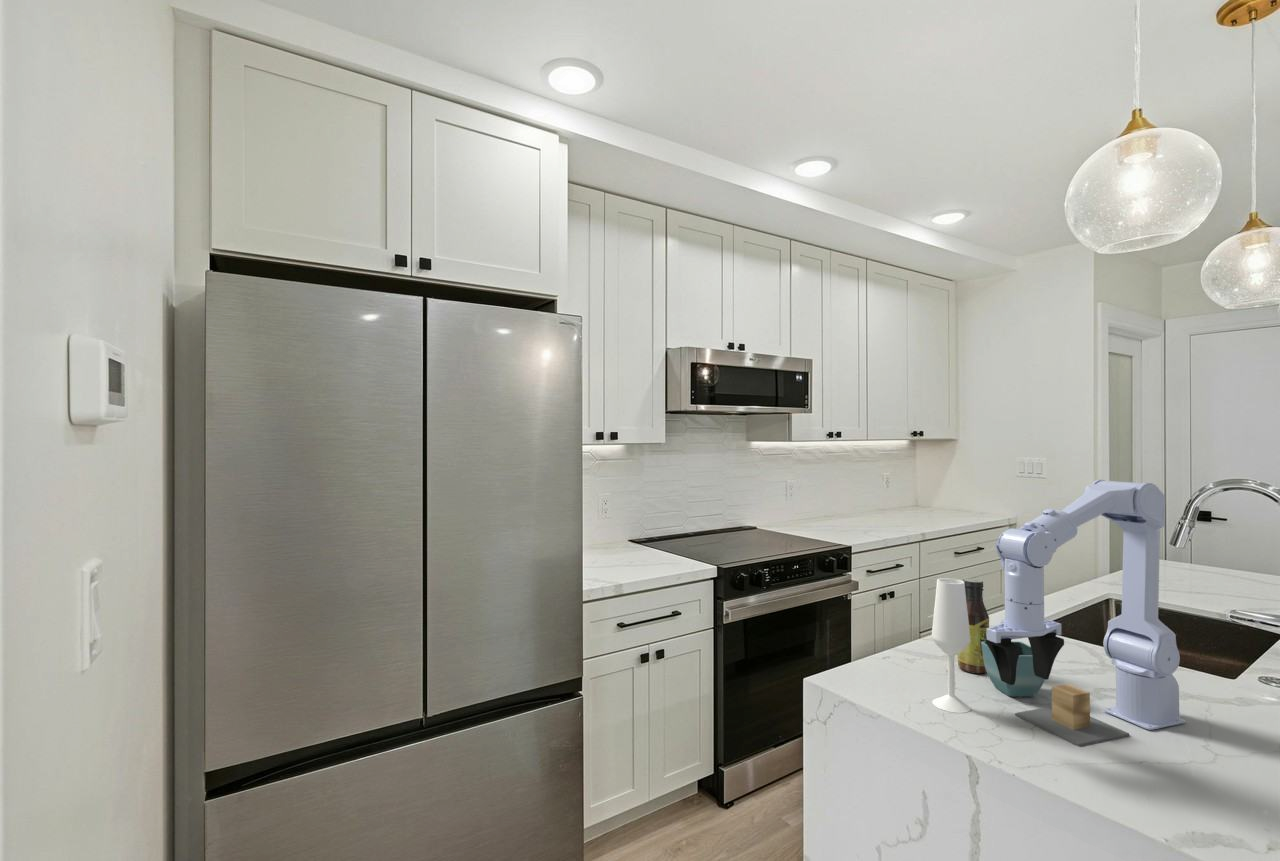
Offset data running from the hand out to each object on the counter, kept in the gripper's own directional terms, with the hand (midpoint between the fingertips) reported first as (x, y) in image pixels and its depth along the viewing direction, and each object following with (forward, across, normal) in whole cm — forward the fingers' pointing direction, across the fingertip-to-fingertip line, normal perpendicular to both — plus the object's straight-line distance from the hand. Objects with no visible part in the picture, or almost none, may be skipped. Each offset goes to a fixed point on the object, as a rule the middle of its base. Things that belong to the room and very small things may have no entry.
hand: (1024, 680), depth 104 cm
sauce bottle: (+11, -18, -28) cm, 35 cm away
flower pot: (+11, -16, -16) cm, 25 cm away
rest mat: (+10, -13, -2) cm, 17 cm away
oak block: (+10, -13, -2) cm, 17 cm away
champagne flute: (+11, +1, -15) cm, 18 cm away
